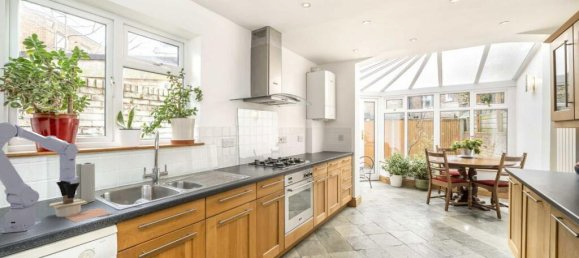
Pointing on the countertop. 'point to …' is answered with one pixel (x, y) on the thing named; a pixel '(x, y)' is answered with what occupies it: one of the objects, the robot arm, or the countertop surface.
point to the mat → (87, 215)
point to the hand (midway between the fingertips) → (68, 197)
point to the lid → (67, 203)
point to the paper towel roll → (86, 181)
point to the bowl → (68, 211)
